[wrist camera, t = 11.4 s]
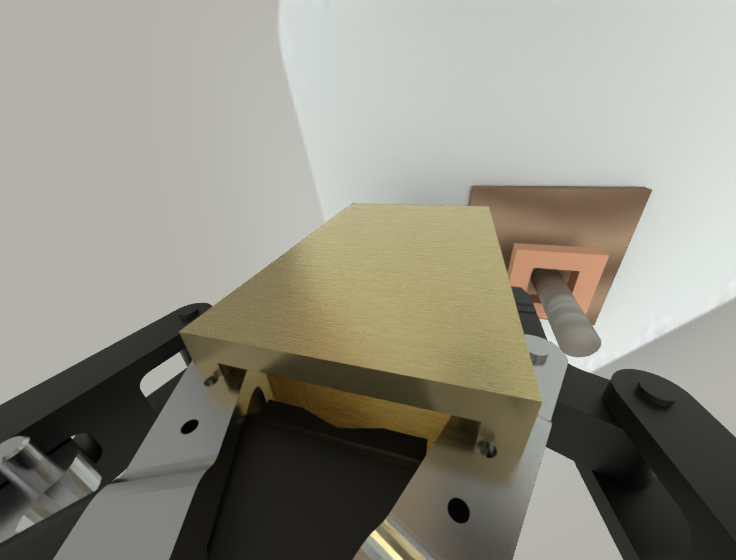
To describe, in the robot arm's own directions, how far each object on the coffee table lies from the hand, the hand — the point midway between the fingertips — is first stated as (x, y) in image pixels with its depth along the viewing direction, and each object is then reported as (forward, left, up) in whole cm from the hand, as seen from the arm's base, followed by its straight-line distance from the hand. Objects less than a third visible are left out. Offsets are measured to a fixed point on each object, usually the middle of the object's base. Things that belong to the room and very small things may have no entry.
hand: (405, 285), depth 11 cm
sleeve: (0, 0, -2) cm, 2 cm away
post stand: (+7, +10, -21) cm, 24 cm away
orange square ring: (+7, +10, -16) cm, 20 cm away
